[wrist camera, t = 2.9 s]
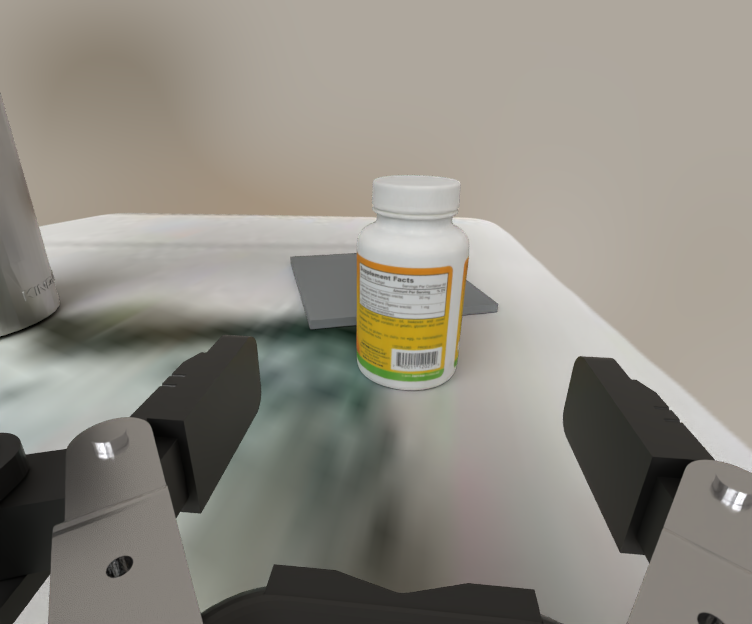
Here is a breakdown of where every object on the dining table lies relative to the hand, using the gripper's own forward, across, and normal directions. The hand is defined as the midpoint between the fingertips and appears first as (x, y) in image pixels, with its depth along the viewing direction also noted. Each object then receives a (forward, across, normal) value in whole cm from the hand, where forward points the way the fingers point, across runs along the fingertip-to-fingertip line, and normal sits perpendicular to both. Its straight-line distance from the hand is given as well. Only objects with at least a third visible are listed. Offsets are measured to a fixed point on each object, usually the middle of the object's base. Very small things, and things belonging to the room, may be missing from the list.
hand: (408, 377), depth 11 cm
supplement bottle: (+11, 0, +6) cm, 13 cm away
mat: (+24, +2, +6) cm, 25 cm away
